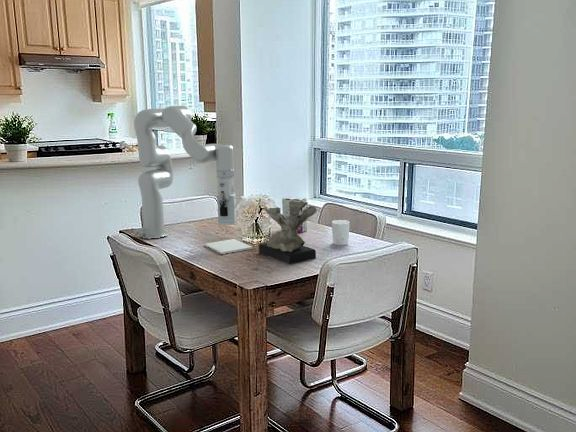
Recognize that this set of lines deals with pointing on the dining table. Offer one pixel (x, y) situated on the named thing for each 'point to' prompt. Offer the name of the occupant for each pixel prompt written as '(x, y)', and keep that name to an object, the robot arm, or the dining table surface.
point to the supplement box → (231, 211)
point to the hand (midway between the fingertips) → (227, 213)
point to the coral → (289, 235)
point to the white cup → (340, 232)
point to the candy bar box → (286, 211)
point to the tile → (228, 246)
